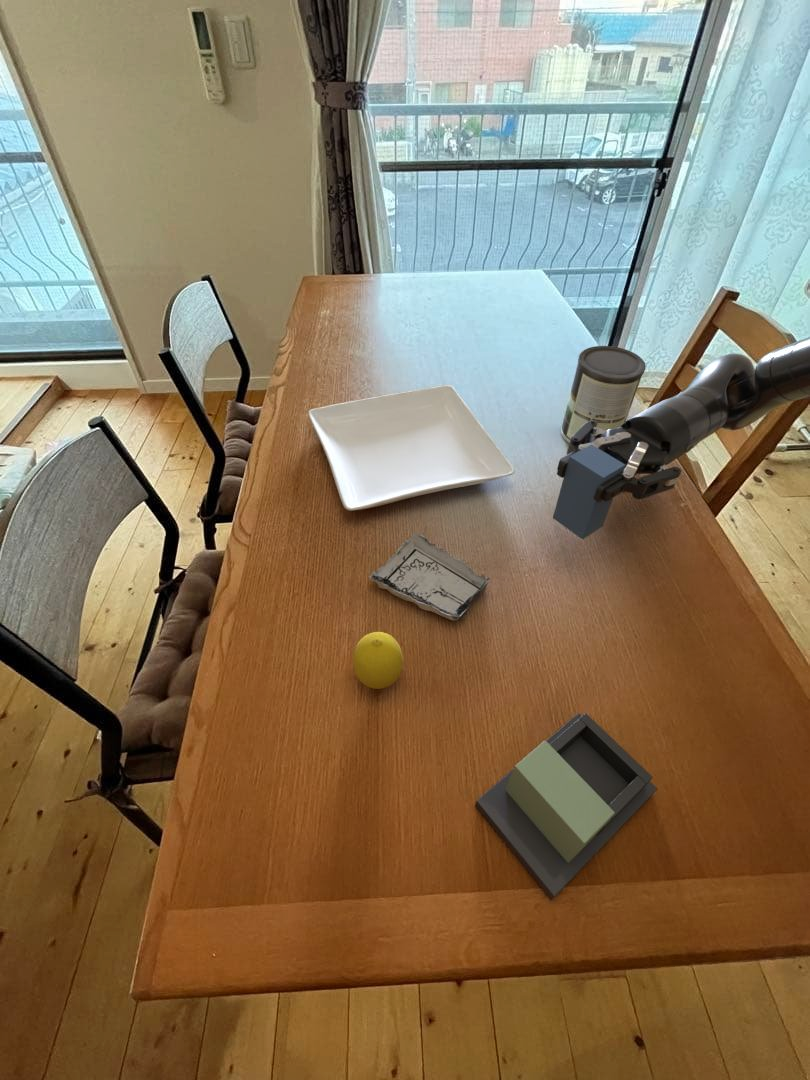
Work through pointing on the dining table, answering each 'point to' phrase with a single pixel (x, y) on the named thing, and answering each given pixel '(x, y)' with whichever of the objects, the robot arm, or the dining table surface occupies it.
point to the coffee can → (602, 388)
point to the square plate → (405, 446)
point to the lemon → (377, 660)
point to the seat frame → (566, 801)
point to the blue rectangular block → (585, 491)
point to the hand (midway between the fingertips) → (578, 482)
